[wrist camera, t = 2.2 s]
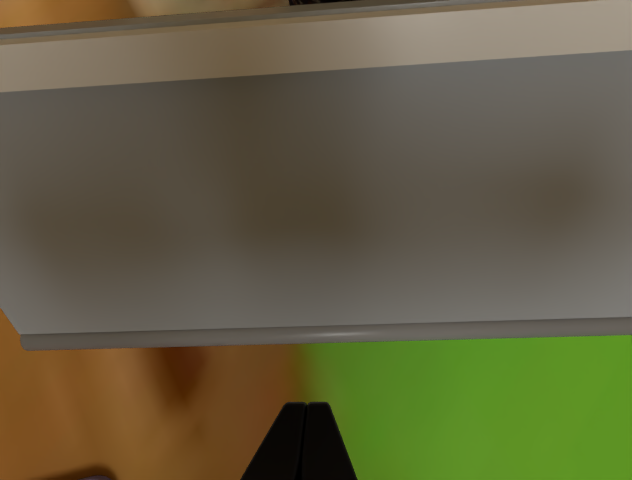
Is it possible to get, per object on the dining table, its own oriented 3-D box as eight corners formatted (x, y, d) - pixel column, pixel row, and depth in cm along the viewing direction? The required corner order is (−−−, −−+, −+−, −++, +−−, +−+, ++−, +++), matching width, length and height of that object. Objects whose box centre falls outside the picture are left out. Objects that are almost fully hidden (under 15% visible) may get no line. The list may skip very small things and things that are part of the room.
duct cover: (622, 319, 16) (644, 350, 15) (42, 335, 18) (23, 364, 17) (794, -33, 10) (855, -25, 9) (-153, 39, 11) (-207, 55, 10)
